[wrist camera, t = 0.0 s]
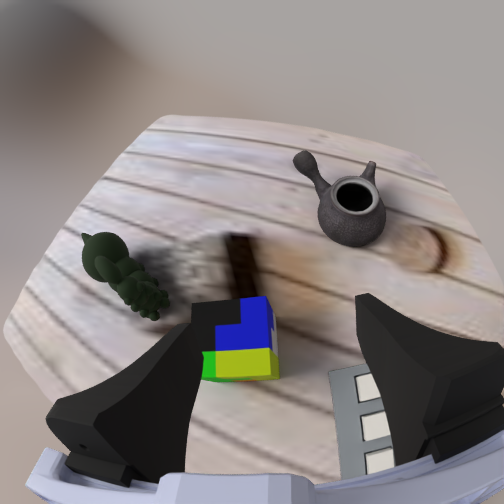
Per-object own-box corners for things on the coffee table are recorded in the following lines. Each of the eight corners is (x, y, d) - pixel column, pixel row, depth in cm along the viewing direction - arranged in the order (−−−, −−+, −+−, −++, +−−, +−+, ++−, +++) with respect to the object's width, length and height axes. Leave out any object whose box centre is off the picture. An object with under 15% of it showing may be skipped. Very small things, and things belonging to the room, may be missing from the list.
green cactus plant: (193, 301, 51) (116, 234, 60) (147, 258, 34) (67, 185, 43) (161, 341, 49) (90, 267, 57) (101, 316, 32) (34, 225, 40)
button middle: (388, 433, 31) (391, 434, 30) (364, 439, 32) (366, 441, 30) (385, 410, 33) (388, 411, 32) (361, 416, 33) (363, 417, 32)
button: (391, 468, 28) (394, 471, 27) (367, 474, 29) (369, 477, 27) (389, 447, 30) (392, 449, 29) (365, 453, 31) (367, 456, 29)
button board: (428, 461, 28) (434, 463, 26) (341, 486, 30) (343, 490, 28) (414, 351, 38) (419, 348, 36) (328, 372, 39) (329, 371, 37)
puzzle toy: (275, 316, 45) (265, 295, 37) (279, 379, 40) (270, 374, 32) (214, 322, 47) (191, 303, 38) (215, 382, 42) (190, 377, 33)
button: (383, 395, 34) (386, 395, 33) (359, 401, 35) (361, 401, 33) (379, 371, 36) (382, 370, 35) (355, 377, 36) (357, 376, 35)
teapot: (397, 199, 51) (408, 163, 42) (367, 262, 46) (377, 230, 38) (314, 164, 58) (312, 127, 50) (275, 216, 54) (267, 181, 45)
